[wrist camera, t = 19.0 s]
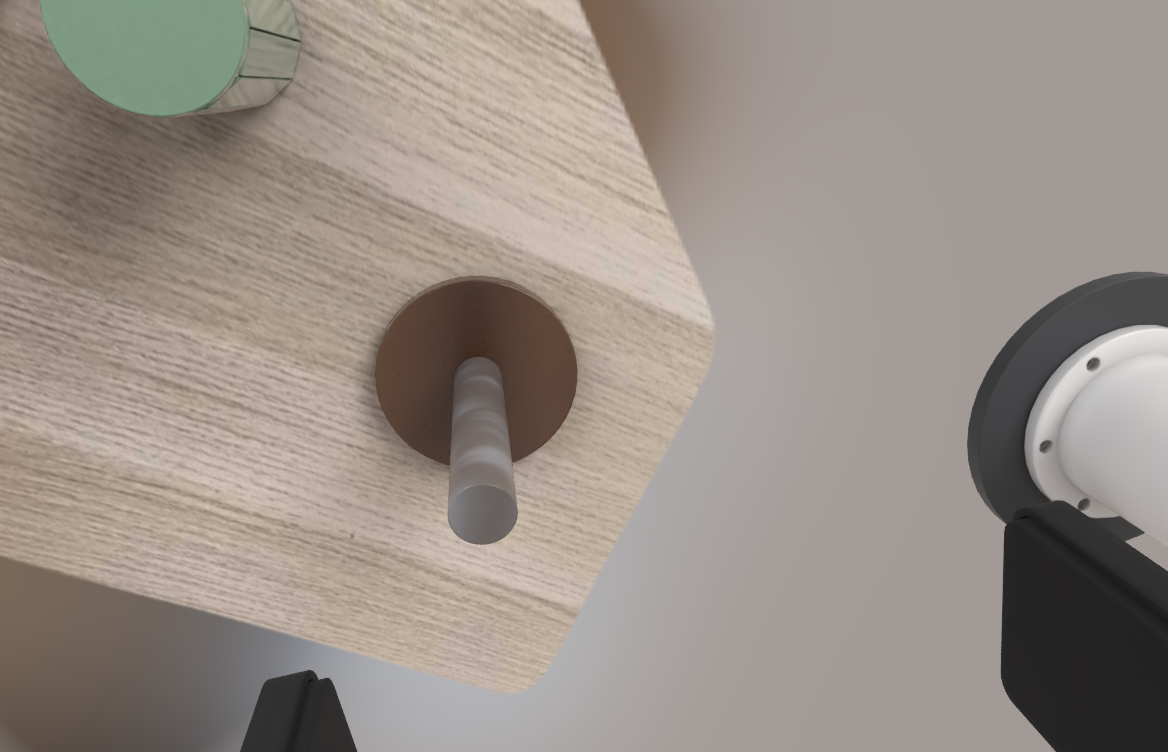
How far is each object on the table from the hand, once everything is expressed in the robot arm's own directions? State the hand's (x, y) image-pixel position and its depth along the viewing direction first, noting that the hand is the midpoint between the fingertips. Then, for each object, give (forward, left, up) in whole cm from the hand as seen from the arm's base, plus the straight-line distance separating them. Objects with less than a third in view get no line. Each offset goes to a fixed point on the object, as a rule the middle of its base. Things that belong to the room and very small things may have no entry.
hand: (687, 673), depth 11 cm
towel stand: (+4, +7, -34) cm, 35 cm away
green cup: (+12, -12, -34) cm, 38 cm away
